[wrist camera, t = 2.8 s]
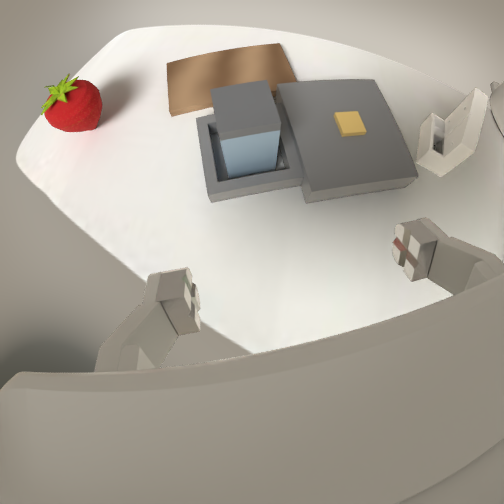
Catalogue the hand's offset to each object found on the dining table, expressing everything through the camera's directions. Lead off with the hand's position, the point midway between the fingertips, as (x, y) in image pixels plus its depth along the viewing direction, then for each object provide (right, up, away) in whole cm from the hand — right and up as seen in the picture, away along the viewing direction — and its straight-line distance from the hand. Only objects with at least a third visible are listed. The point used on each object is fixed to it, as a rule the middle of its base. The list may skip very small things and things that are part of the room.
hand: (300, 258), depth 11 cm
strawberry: (-21, +15, +17) cm, 31 cm away
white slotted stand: (+19, +12, +16) cm, 28 cm away
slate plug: (-2, +10, +16) cm, 19 cm away
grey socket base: (+3, +11, +16) cm, 20 cm away
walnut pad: (-4, +20, +18) cm, 27 cm away
